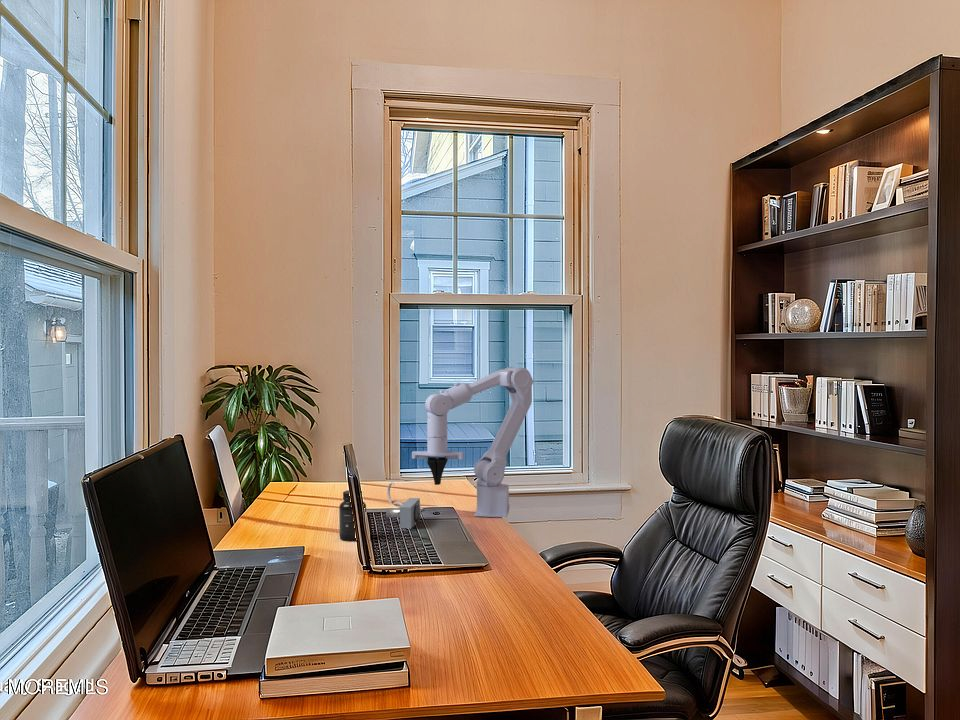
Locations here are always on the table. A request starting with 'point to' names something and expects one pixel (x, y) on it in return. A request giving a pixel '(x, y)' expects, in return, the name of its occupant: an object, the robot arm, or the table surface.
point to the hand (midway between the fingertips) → (437, 484)
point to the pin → (396, 513)
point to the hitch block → (408, 513)
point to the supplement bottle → (346, 519)
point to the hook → (390, 498)
